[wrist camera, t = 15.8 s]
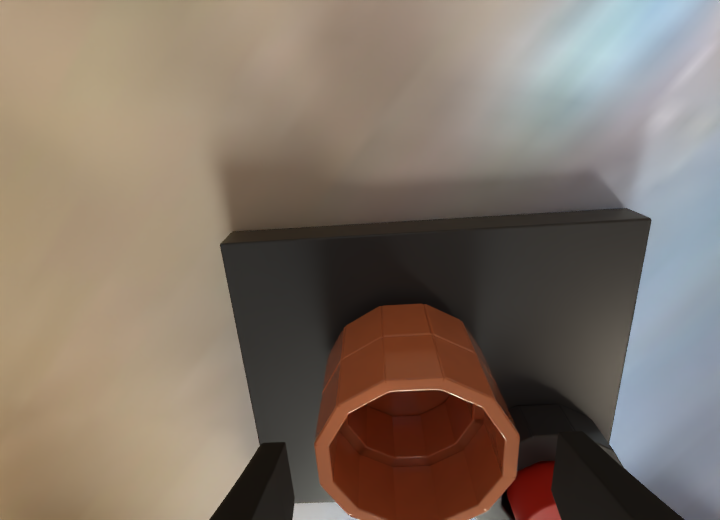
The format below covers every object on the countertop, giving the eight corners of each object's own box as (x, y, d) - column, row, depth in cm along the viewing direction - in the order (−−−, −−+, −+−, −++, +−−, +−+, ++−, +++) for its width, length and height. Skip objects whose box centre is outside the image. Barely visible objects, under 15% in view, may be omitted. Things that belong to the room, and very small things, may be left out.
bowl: (480, 292, 14) (526, 372, 10) (475, 417, 16) (512, 529, 12) (323, 300, 15) (304, 383, 10) (336, 423, 16) (326, 534, 12)
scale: (627, 207, 15) (688, 233, 12) (581, 480, 19) (618, 545, 16) (231, 231, 15) (200, 261, 12) (280, 491, 20) (265, 555, 17)
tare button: (586, 457, 15) (612, 500, 14) (576, 512, 16) (600, 558, 15) (508, 460, 15) (525, 503, 14) (504, 514, 16) (519, 560, 15)
